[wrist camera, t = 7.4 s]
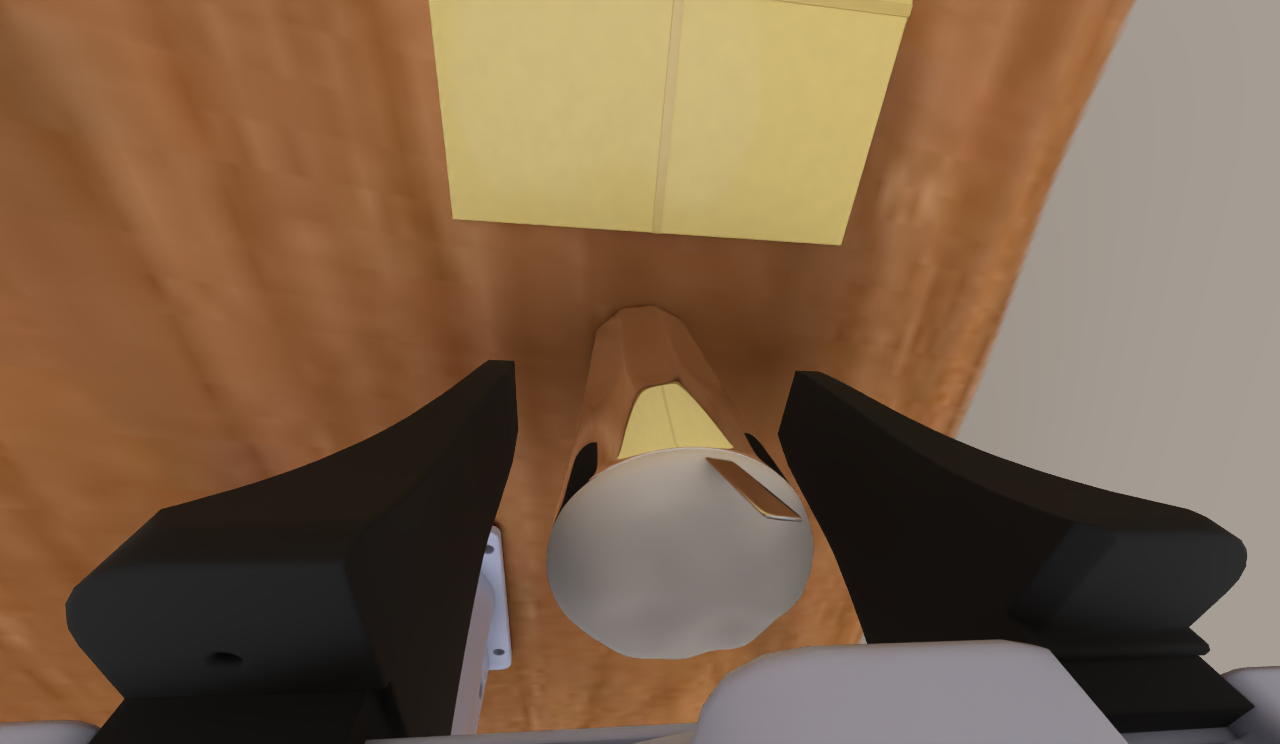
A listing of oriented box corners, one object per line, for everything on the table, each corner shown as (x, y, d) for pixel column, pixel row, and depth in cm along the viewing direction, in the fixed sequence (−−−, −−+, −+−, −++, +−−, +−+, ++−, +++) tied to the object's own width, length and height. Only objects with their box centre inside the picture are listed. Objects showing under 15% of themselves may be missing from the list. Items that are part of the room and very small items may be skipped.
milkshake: (737, 273, 14) (970, 539, 5) (688, 416, 16) (792, 759, 8) (588, 242, 13) (570, 494, 4) (561, 398, 16) (515, 756, 7)
